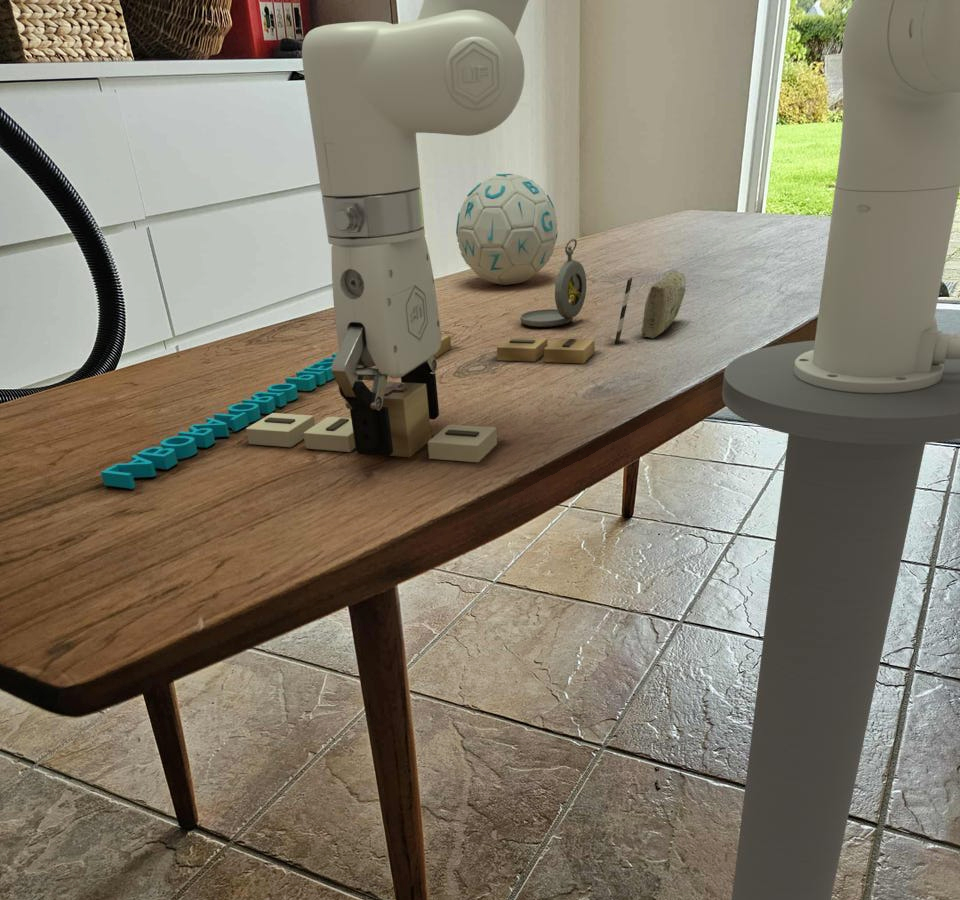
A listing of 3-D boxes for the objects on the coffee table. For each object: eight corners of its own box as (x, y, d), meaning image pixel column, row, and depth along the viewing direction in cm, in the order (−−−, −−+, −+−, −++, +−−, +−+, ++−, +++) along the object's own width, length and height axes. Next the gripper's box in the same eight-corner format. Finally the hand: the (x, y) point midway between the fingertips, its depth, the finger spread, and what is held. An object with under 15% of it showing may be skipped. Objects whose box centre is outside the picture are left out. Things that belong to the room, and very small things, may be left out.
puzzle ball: (498, 271, 147) (493, 168, 139) (577, 277, 139) (576, 168, 131) (440, 289, 137) (431, 180, 129) (521, 296, 129) (517, 180, 121)
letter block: (431, 439, 79) (426, 381, 77) (410, 457, 76) (403, 397, 73) (386, 436, 81) (379, 379, 78) (363, 453, 77) (355, 394, 75)
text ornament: (132, 488, 73) (128, 475, 73) (104, 485, 74) (100, 472, 74) (389, 347, 108) (388, 337, 107) (367, 346, 109) (366, 336, 108)
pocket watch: (519, 318, 117) (516, 235, 112) (584, 314, 117) (584, 231, 111) (521, 334, 110) (518, 246, 105) (590, 329, 110) (590, 241, 104)
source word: (594, 353, 100) (594, 337, 100) (583, 363, 97) (583, 347, 96) (417, 346, 108) (415, 332, 107) (400, 356, 104) (399, 341, 104)
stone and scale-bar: (614, 344, 103) (642, 318, 112) (651, 353, 102) (677, 327, 111) (627, 280, 99) (655, 259, 108) (666, 289, 98) (692, 267, 107)
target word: (497, 444, 77) (496, 425, 76) (478, 462, 74) (477, 443, 73) (275, 428, 85) (272, 410, 84) (248, 444, 81) (244, 426, 81)
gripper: (365, 235, 61) (394, 475, 70) (462, 201, 74) (476, 406, 83) (271, 237, 63) (311, 468, 72) (381, 204, 77) (403, 402, 86)
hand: (399, 434), depth 78 cm, fingers open, 9 cm apart
